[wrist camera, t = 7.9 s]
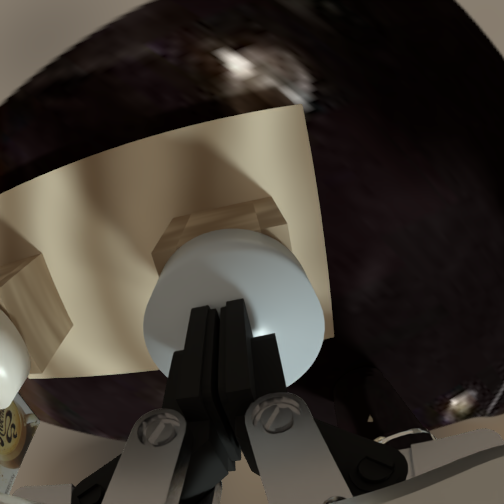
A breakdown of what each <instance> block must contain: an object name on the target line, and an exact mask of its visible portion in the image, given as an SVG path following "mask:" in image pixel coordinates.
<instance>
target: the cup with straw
mask: <svg viewBox="0 0 504 504" xmlns="http://www.w3.org/2000/svg"><path fill="white" fill-rule="evenodd" d="M332 397H333V400H334V409H335V415H336V420H337V426H338V428H340V429H343V430H346V431H348V432H351V433H354V434H356V435H359V436H362V437H365V438H368V439H371V440H373V441H376V442H379V443H382V444H385V445H388V446H391V447H393V448H395V449H397V450H402V449H408V448H410V445H411V444H417V443H422V442H427V441H432V440H437V439H436V438H435V437H434V436H433V435H432V434H431V433H430V432H429V431H428V430H427V429H426V428H425V427H423V426H422V425H421V423H420V422H419V421H418V419H417V418H416V417H415V415H414V414H413V413H412V411H411V410H410V409H409V407H408V406H407V405H406V403H405V402H404V401H403V399H402V398H401V397H400V395H399V394H398V393H397V391H396V390H395V389H394V388H393V386H392V385H391V384H390V382H389V381H388V380H387V379H386V378H384V376H383V374H382V372H381V371H380V370H379V369H377V368H373V367H362V368H358V369H355V370H353V371H351V372H349V373H347V374H345V375H344V376H343V377H341V378H340V379H339V380H338V381H337V383H336V384H335V386H334V388H333V391H332Z"/></svg>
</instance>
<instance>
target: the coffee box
mask: <svg viewBox="0 0 504 504" xmlns="http://www.w3.org/2000/svg"><path fill="white" fill-rule="evenodd" d="M39 424H40V421H39V419H38V418H37V417H36V416H35V415H34V413H33V412H32V411H31V410H30V408H29V407H28V406H27V404H26V403H25V402H24V400H23V399H22V398H21V396H20V395H19V394H18V392H17V394H16V396H15V397H14V399H13V401H12V402H11V404H10V406H8V407H7V408H5V409H0V493H4V494H8V495H9V493H10V491H11V488H12V485H13V483H14V480H15V478H16V475H17V473H18V470H19V468H20V465H21V463H22V461H23V458H24V456H25V454H26V451H27V449H28V447H29V444H30V442H31V440H32V438H33V436H34V434H35V431H36V429H37V427H38V425H39Z"/></svg>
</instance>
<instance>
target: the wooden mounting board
mask: <svg viewBox="0 0 504 504" xmlns="http://www.w3.org/2000/svg"><path fill="white" fill-rule="evenodd" d="M221 229H246V230H251V231H255V232H259V233H262V234H264V235H267V236H269V237H271V238H273V239H275V240H277V241H279V242H280V243H281V244H283V245H284V246H285V247H287V248H288V249H289V250H290V251H291V252H292V253H293V254H294V255H295V257H296V258H297V259H298V261H299V262H300V264H301V265H302V267H303V269H304V271H305V273H306V275H307V277H308V279H309V281H310V283H311V285H312V287H313V289H314V291H315V293H316V296H317V298H318V300H319V302H320V305H321V307H322V310H323V315H324V321H325V331H324V339H328V338H332V337H334V328H333V317H332V306H331V295H330V286H329V276H328V267H327V259H326V250H325V242H324V235H323V227H322V220H321V213H320V206H319V199H318V192H317V186H316V179H315V173H314V167H313V161H312V155H311V150H310V144H309V138H308V133H307V128H306V122H305V117H304V112H303V107H302V104H298V105H291V106H285V107H278V108H272V109H267V110H261V111H256V112H250V113H245V114H240V115H235V116H231V117H226V118H221V119H217V120H212V121H208V122H204V123H200V124H195V125H191V126H187V127H184V128H180V129H176V130H172V131H169V132H165V133H161V134H158V135H154V136H151V137H147V138H144V139H141V140H137V141H134V142H131V143H128V144H125V145H122V146H119V147H116V148H113V149H110V150H107V151H104V152H101V153H98V154H95V155H92V156H90V157H87V158H84V159H81V160H79V161H76V162H73V163H71V164H68V165H66V166H63V167H61V168H58V169H56V170H53V171H51V172H48V173H46V174H43V175H41V176H39V177H36V178H34V179H32V180H30V181H27V182H25V183H23V184H21V185H18V186H16V187H14V188H12V189H10V190H8V191H6V192H4V193H1V194H0V309H1V310H2V311H3V312H4V313H5V314H6V316H7V317H8V318H9V319H10V320H11V322H12V323H13V324H14V326H15V327H16V329H17V330H18V332H19V333H20V335H21V337H22V339H23V341H24V343H25V345H26V347H27V350H28V353H29V357H30V364H31V367H30V372H29V375H28V378H29V379H36V378H66V377H84V376H99V375H111V374H122V373H133V372H142V371H151V370H159V368H158V367H157V365H156V364H155V363H154V361H153V359H152V358H151V356H150V354H149V352H148V349H147V347H146V344H145V339H144V334H143V321H144V314H145V310H146V307H147V304H148V302H149V299H150V297H151V295H152V292H153V290H154V288H155V286H156V283H157V281H158V279H159V277H160V274H161V272H162V270H163V268H164V266H165V264H166V263H167V261H168V260H169V258H170V257H171V256H172V255H173V254H174V253H175V252H176V250H177V249H179V248H180V247H181V246H182V245H184V244H185V243H186V242H188V241H190V240H191V239H193V238H195V237H197V236H199V235H202V234H204V233H208V232H211V231H215V230H221ZM324 339H323V340H324Z"/></svg>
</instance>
